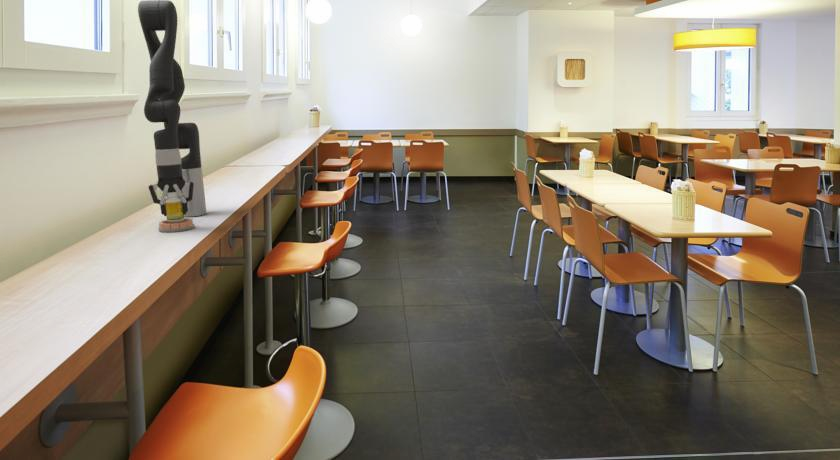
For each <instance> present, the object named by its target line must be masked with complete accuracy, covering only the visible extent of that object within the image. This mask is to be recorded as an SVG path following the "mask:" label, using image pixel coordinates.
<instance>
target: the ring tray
mask: <svg viewBox="0 0 840 460" xmlns="http://www.w3.org/2000/svg"><path fill="white" fill-rule="evenodd" d="M193 220H194V219H193V218H191V217H184V220H183V221H179V222H168V221H167V219H165V220H161V221H159V222H158V232H160V233H166V234H167V233H168V234H169V233H179V232H185V231H191V230H193V229H195V223H194V222H193Z"/></svg>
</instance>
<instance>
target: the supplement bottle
mask: <svg viewBox="0 0 840 460" xmlns="http://www.w3.org/2000/svg"><path fill="white" fill-rule="evenodd" d="M182 203H183V202H182V200H181V198H180V197H179V195H178V193H177V192H168V193H167V195H166V199H165V208H166V216H165V217H166V220H167V221H168V222H179V221H183V220H184V218H185V217H184V214H183V205H182Z"/></svg>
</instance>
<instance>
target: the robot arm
mask: <svg viewBox="0 0 840 460" xmlns="http://www.w3.org/2000/svg"><path fill="white" fill-rule="evenodd" d="M137 13H138V20H139V22H140V27H141V30H142V33H143V36H144V37H143V38H144V39H145V42H146V43H145V44H146V47H147V50H148V54H149V59H150V63H149V88H148V93H147V96H146V100H145V102H144V108H143V113H144V116H145V118H146V120H147V121H148V122H149V123H152V124H155V123H163V128H164V129H159V130H156V131H154V133H153V141H154V143H153V144H154V149H155V154H154V155H155V156H154V157H155V165H156V174H157V183H155V184H150V185H148V190H149V192H150V196H151V199H152V201H153V203H154V204H158V205H160V206H159V207H160V213H161V215H163V216H164V217H167V216H166V208H165V199H166V198H167V197H166V195H167V193H168V192H177V193H178V195H179V197H180V198H181V200H182V202H183V203H182V205H183V214H184V218H191V217H198V216H204V215H206V214H207V206H206V197H205V195H206V194H205V187H204V179H203V178H204V177H203V168H202V159H201V148H200V147H201V145H200V132H199V127H198V125H197V124H196V123H195V122H180V117H181V107H180V104H179V103H180V100H181V99H182V97H183V95H184V92H185V88H186V84H185V79H184V75H183V74H184V73H183V70H182V67H181V65H180V64H179V62H178V61H177V60H176V59H175V50H176V43H177V42H176V41H177V31H178V12H177V8H176V6H175V4H174V3H173V1H171V0H141V1H139V2H138V5H137ZM159 31H160V32H162V31H164V37H163V39H162V42H161V41H160V38H159V36H158V34H157V32H159ZM180 150H189V152H188V153H187V154H186V155H185V156H183V157H181V152H180ZM157 188H159V189H160V190H161V192H162V194H161V197H160V199H159V198H158V195H157V190H158V189H157Z"/></svg>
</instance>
